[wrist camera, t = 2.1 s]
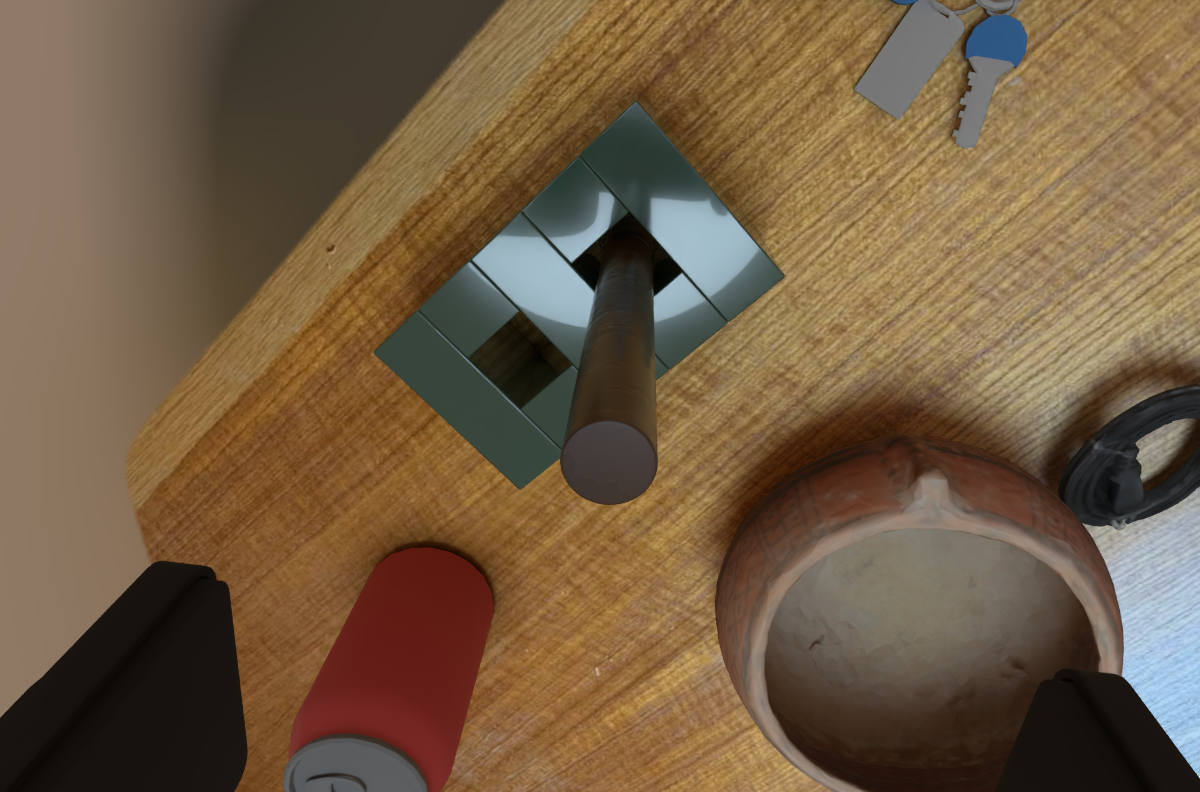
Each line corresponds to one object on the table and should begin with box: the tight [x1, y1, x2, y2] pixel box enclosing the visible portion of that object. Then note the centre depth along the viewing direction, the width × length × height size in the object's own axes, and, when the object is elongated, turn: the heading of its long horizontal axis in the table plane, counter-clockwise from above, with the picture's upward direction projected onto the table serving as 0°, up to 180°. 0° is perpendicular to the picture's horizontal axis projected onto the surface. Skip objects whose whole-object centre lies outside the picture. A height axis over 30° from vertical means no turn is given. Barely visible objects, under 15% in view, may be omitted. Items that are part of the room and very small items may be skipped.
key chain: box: [854, 0, 1027, 148], centre depth 29 cm, size 14×8×1 cm, turn 109°
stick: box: [560, 211, 658, 505], centre depth 24 cm, size 2×2×20 cm
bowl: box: [715, 433, 1124, 792], centre depth 34 cm, size 16×16×10 cm
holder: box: [374, 90, 785, 490], centre depth 31 cm, size 13×8×6 cm, turn 133°
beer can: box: [283, 547, 494, 792], centre depth 36 cm, size 7×7×12 cm
